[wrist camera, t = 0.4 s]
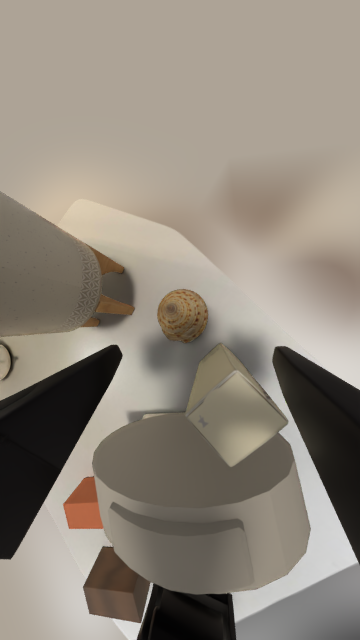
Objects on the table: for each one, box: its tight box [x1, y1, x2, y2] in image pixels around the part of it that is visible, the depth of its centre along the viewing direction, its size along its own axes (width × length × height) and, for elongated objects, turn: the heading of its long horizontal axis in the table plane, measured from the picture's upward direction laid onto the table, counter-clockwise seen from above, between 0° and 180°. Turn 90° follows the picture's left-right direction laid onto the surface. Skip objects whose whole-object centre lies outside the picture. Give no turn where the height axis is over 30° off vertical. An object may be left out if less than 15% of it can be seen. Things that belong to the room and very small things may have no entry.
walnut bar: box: [83, 547, 150, 623], centre depth 22 cm, size 10×4×4 cm, turn 110°
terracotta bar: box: [63, 477, 104, 529], centre depth 24 cm, size 10×4×4 cm, turn 110°
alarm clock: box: [92, 412, 311, 594], centre depth 16 cm, size 23×6×13 cm, turn 101°
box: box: [185, 343, 288, 467], centre depth 15 cm, size 5×4×13 cm
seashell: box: [157, 289, 208, 343], centre depth 21 cm, size 8×6×8 cm
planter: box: [0, 192, 134, 337], centre depth 17 cm, size 13×13×18 cm
